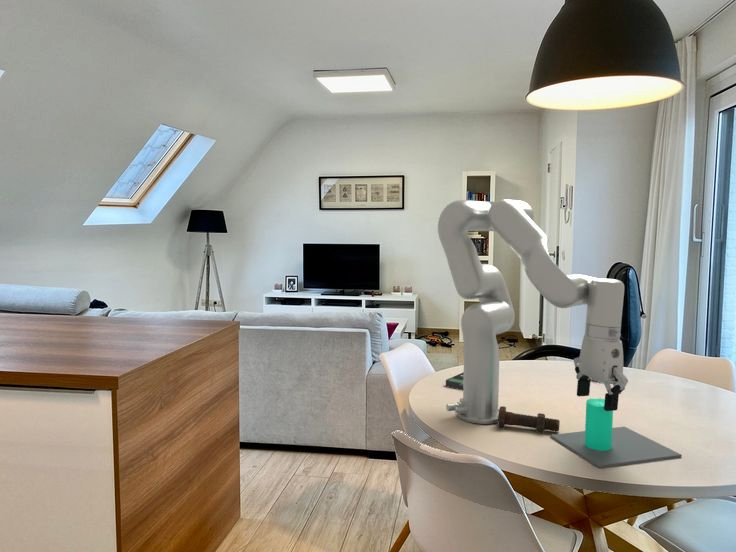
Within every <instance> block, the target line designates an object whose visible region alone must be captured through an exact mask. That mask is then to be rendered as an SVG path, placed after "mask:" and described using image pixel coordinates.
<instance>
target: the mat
mask: <svg viewBox="0 0 736 552" xmlns="http://www.w3.org/2000/svg"><path fill="white" fill-rule="evenodd" d="M549 436H550V438H551V439H553V440H554V441H556V442H557V443H558V444H560V445H562V446H564V447H565V448H566V449H568V450H570V451H571V452H573V453H574V454H576V455H577V456H579V457H581V458H582V459H584V460H586V461H587V462H588V463H590V464H592V465H594V466H595V467H596V468H597V469H604V468H605V469H606V468H612V467H618V466H626V465H632V464H641V463H649V462H656V461H663V460H670V459H678V458H682V456H683V455H682V454H681V453H679V452H677V451H676V450H673V449H671V448H669V447H667V446H664V445H663V444H661V443H659V442H657V441H655V440H653V439H650V438H649V437H646V436H645V435H642V434H641V433H638V432H636V431H634V430H632V429H630V428H628V427H625V426H617V427H612V447H611V449H610V450H608V451H599V450H594V449H591V448H588V447H587V446H585V430H583V431H582V430H580V431H574V432H565V433H556V434H555V433H554V434H550V435H549Z"/></svg>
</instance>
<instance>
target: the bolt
mask: <svg viewBox="0 0 736 552" xmlns="http://www.w3.org/2000/svg"><path fill="white" fill-rule="evenodd" d="M498 409H499V415H498V422H497V426H498V429H503V428H504V429H505V426H515V427H523V428H530V429H535V430H536V433H539V432H540V433H539V434H543V432H545V431H548V432H549V431H550V432H555V433H557V432H559V431H560V419H557V418H549V417H546V414H544V413H541V412H540V413H539V412H538V414H536V415H537V416H535V415H529V414H523V413H516V412H511V411H507V407H506V406H504V405H503V406H500V407H498Z"/></svg>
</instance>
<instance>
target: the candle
mask: <svg viewBox="0 0 736 552" xmlns="http://www.w3.org/2000/svg"><path fill="white" fill-rule="evenodd" d="M604 402H605V398H588V399H586V402H585V406H586V407H585V425H584V426H585V427H584V429H585V430H584V431H585V446H587V447H588V448H591V449H594V450H599V451H608V450H610V449H611V447H612V428H613V421H614V411H605V410H604Z"/></svg>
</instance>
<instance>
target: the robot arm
mask: <svg viewBox="0 0 736 552" xmlns="http://www.w3.org/2000/svg"><path fill="white" fill-rule="evenodd" d="M534 220H535V215H534V210H533V208H532V207H531V206H530V205H529V204H528V203H527V202H525V201H523V200H519V199H518V200H517V199H500V200H497V201H484V200H482V201H481V200H471V199H459V200H458V199H457V200H454V201H452V202H450V203H449V204H447V205H446V206H445V207H444V208H443V209H442V211H441V213H440V215H439V218H438V221H437V233H438V237H439V240H440V243H441V246H442V248H443V252H444V253H445V257H446V259H447V260H446V261H447V265H448V268H449V271H450V274H451V277H452V281H453V283H454V287H455V289H456V292H457V294H458V295H459V297H460V298H462V299H465V300H476V299H478V302H476V303H473V304H471V305H470V306H468V307H467V308H466V309H465V310H464V311H463V312H462V313H463V314H461V319H460V320H461V321H460V325H461V326H460V328H461V332H462V341H463V372H464V380H463V390H462V393H463V394H462V396H463V397H462V398H459V401H457V402H456V403H447V404H446V411H447V412H453V411H454V413H455V414H456V415H457V416H458V418H459V419H461V420H463V421H465V422H467V423H468V422H469V423H472V424H478V425H479V424H481V425H493V424H496V423H497V424H498V415H499V390H500V389H499V387H500V385H499V384H500V380H499V379H500V349H499V345H498V341H497V335H500V334H503V333H506V332H508V331H509V330H510V329H512V327H513V326H514V323H515V320H516V319H515V318H516V317H515V316H516V315H515V309H514V306H513V303H512V300H511V296H510V293H509V290H508V287H507V284H506V281H505V278H504V276H503V274H502V273H501V271H500V270H499V269H498V268H497V267H496V266H495V265H492V264H489V263H482V262H481V260H480V257H479V255H478V250H477V248H476V245H475V244H474V242H473V240H472V239H471V237H470V236H469V234H468V233H469V232H496V233H497V234H498V236H499V237H501V239H503V241H504V242H505V243H506V244H507V246H509V247H510V249H511V250H512V251H513V252H514V253H515V254H516V256H517V257H518V258H519V259H520V261H521V263H522V264H521V265H522V268H523V270H524V272H525V274H526V276H527V278H528V280H529V281H530V283H531V284H532V285H533V286H534V288H535V289H536V290H537V291H538V292H539V293H540V294H541V296H543V298H544V299H545V300H546V301H547V302H549V304H551V305H552V306H554V307H556V308H559V309H568V308H573V307H576V306H583V305H584V306H586V315H585V317H586V318H585V327H584V334H583V337H582V338H583V339H582V342H581V345H580V346H581V347H580V353H579V356H578V357H575V358H573V364H574V371H575V373H576V380H577V386H576V396H577V397H588V396H590V391H591V389H590V388H591V379H590V378H592V379H594V380H596V381H595V382H598V383H601V384H603V385H604V387H605V390H606V393H605V394H604V399H605V402H604V410H605V411H613V412H614V411H615V412H616V411H617V410H618V407H619V406H618V405H619V396H620V395H621V394H622V392H623V391H624V390H625V389H626V386H627V384H628V382H629V379H628V378H627V376H626V375H625V374H624V348H623V342H622V340H621V336H622V333H621V330H622V319H623V318H622V317H623V307H624V296H625V284H624V282H623V281H621V280H619V279H615V278H606V277H602V278H601V277H600V278H599V277H598V278H597V277H595V276H594V277H593V276H588V275H585V274H579V273H575V274H574V273H573V274H565V273H564V271H562V270H561V268H560V267H559V266H558V265H557V264H556V263H555V262H554V260H553V259H552V257H551V256H550V253H549V251H548V244H549V237H548V235H547V234H546V233H545V232H544V231H543V230H542V229H541V228H540V227H539V226H538V225H537V224H536V223H535V222H534ZM589 377H590V378H589Z"/></svg>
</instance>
